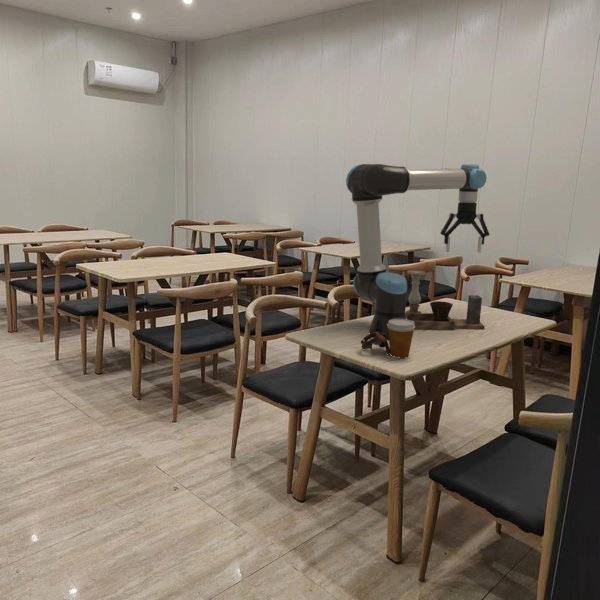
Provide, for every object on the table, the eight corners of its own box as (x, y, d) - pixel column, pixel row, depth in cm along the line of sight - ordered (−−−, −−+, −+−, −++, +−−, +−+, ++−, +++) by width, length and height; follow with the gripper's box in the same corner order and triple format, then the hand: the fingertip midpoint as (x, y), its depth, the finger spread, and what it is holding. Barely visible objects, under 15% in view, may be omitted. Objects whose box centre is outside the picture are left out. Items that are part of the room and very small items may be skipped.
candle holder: (400, 314, 242) (402, 269, 237) (418, 313, 243) (421, 269, 239) (408, 319, 233) (410, 273, 229) (427, 318, 235) (430, 272, 230)
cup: (457, 326, 221) (456, 302, 219) (436, 330, 220) (434, 306, 218) (448, 321, 230) (447, 298, 228) (428, 324, 229) (426, 302, 227)
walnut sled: (413, 328, 219) (415, 299, 216) (407, 319, 232) (408, 291, 230) (485, 330, 219) (488, 300, 216) (475, 320, 232) (477, 293, 229)
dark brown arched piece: (387, 360, 184) (376, 339, 182) (365, 366, 189) (353, 346, 188) (398, 342, 193) (387, 323, 192) (376, 349, 199) (365, 330, 197)
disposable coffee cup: (418, 355, 187) (420, 321, 185) (404, 362, 180) (406, 327, 178) (394, 349, 193) (396, 316, 191) (380, 355, 186) (381, 322, 184)
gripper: (494, 201, 232) (489, 251, 237) (435, 201, 232) (432, 250, 237) (500, 202, 225) (495, 253, 230) (439, 201, 225) (436, 252, 230)
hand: (463, 252), depth 233 cm, fingers open, 13 cm apart
